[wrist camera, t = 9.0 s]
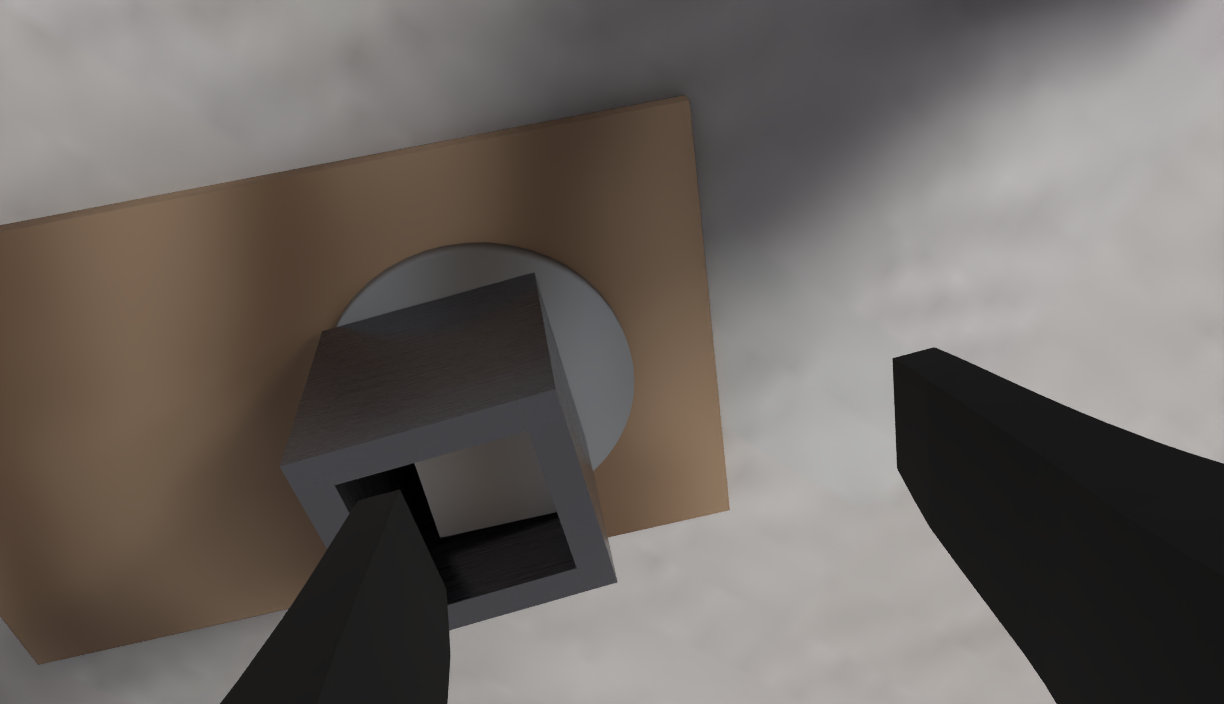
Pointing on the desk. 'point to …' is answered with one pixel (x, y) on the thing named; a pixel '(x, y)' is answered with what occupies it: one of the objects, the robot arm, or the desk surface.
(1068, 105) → the desk surface
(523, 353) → the socket sleeve
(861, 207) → the desk surface
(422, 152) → the wooden board
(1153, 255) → the desk surface
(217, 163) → the desk surface
